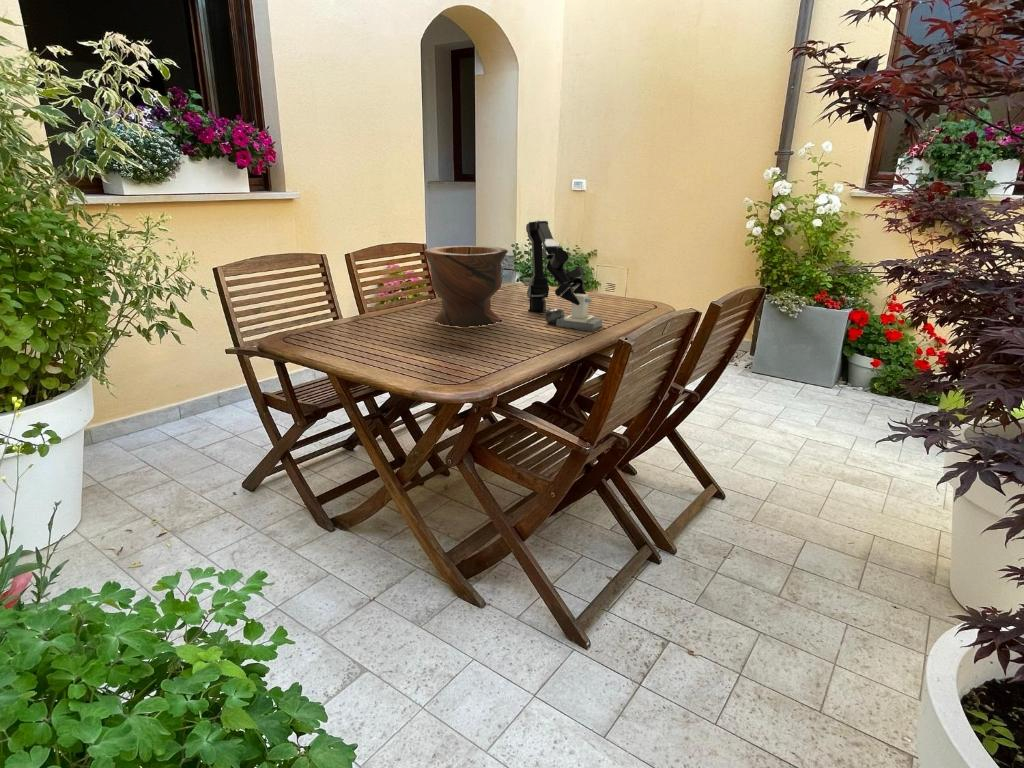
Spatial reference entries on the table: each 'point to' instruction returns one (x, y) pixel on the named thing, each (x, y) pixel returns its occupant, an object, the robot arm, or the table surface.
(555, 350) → the table surface
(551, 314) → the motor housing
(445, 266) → the wooden planter
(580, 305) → the cream block
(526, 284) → the mechanical component
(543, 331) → the table surface
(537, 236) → the robot arm
